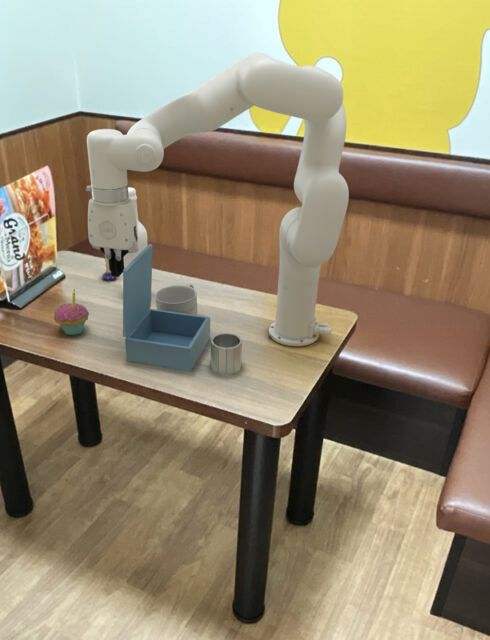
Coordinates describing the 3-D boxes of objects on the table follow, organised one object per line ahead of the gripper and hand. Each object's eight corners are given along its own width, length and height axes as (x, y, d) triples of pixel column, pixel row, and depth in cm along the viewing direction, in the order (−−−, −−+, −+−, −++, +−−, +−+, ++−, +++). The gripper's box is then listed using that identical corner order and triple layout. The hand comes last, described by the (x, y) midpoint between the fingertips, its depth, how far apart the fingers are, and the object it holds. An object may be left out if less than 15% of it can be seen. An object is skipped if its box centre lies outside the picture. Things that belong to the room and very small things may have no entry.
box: (210, 341, 150) (210, 316, 146) (190, 374, 137) (190, 348, 134) (150, 332, 153) (149, 308, 150) (126, 364, 141) (124, 338, 137)
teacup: (179, 335, 152) (178, 306, 148) (147, 322, 158) (145, 294, 153) (212, 314, 161) (212, 286, 157) (181, 303, 167) (180, 276, 162)
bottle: (149, 302, 167) (143, 193, 150) (120, 302, 167) (110, 193, 150) (152, 290, 174) (146, 184, 157) (124, 289, 174) (115, 184, 157)
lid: (152, 244, 140) (149, 243, 140) (126, 270, 127) (122, 270, 128) (150, 307, 149) (147, 306, 149) (126, 337, 137) (122, 336, 137)
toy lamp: (111, 273, 183) (106, 219, 174) (121, 277, 181) (117, 223, 171) (99, 278, 180) (93, 224, 171) (110, 283, 178) (104, 227, 168)
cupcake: (97, 326, 156) (91, 284, 149) (77, 342, 149) (71, 298, 143) (69, 320, 159) (63, 277, 152) (49, 334, 152) (41, 291, 146)
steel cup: (243, 363, 141) (244, 335, 137) (236, 379, 136) (237, 350, 132) (215, 359, 143) (215, 331, 139) (207, 374, 138) (207, 345, 133)
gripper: (69, 195, 126) (80, 277, 136) (136, 202, 123) (141, 285, 133) (85, 185, 132) (94, 264, 142) (150, 191, 129) (154, 271, 139)
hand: (117, 274), depth 138 cm, fingers closed
